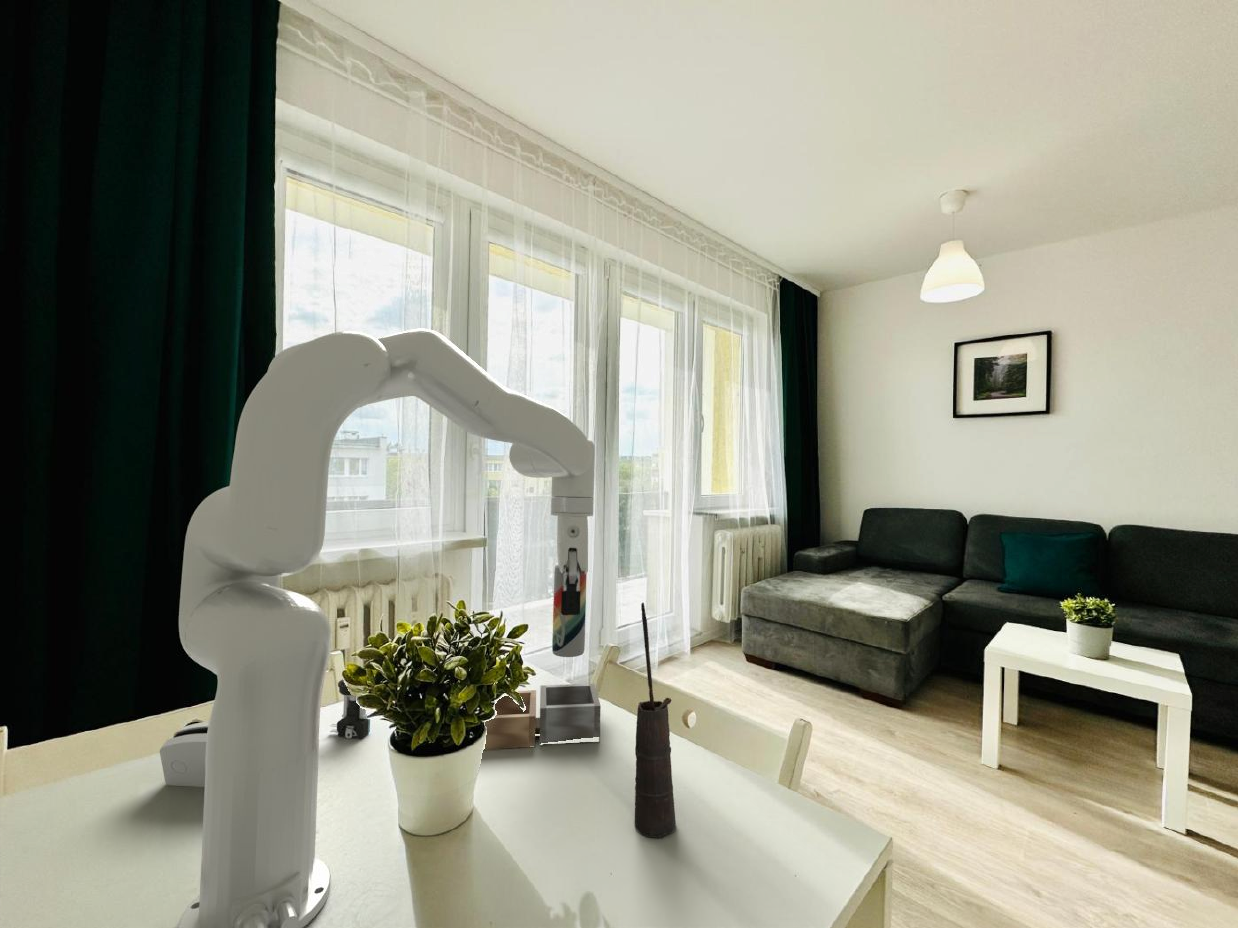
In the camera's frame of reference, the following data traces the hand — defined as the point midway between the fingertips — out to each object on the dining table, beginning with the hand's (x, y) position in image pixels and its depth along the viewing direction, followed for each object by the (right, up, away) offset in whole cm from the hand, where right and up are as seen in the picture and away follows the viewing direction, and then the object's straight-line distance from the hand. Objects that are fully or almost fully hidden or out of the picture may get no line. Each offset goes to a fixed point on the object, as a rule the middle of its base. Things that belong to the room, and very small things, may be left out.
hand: (569, 609), depth 93 cm
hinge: (-47, -20, -18) cm, 54 cm away
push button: (-37, -21, -3) cm, 42 cm away
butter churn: (+14, -20, -25) cm, 36 cm away
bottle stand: (-6, -21, -1) cm, 22 cm away
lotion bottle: (0, -8, 0) cm, 8 cm away
